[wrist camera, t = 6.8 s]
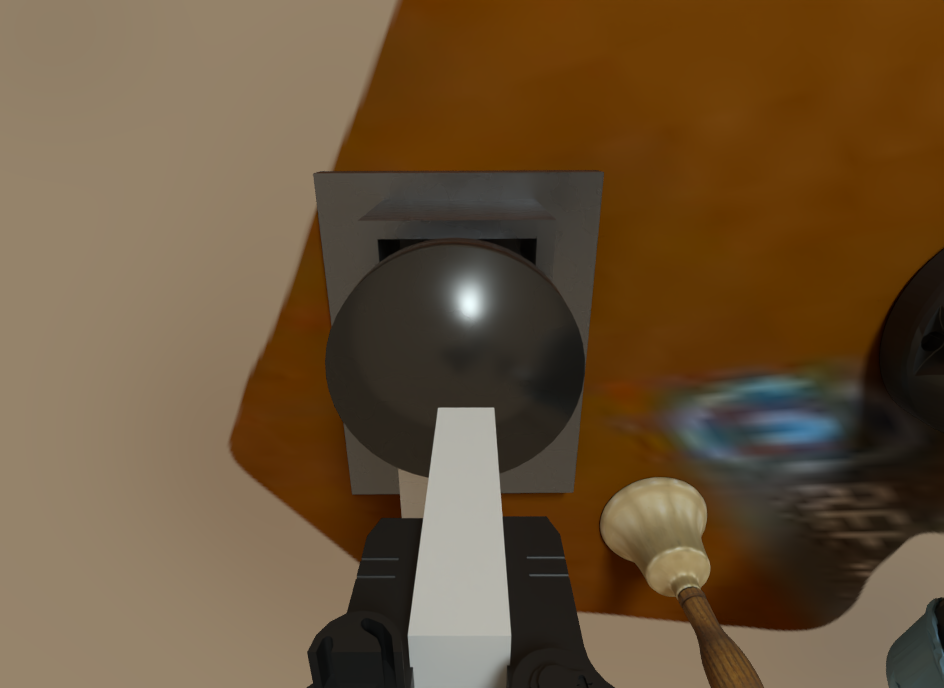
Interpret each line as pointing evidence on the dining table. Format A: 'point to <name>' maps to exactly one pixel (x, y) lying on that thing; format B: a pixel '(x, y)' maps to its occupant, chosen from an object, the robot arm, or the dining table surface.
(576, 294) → the press stand
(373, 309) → the black ball joystick
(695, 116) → the dining table surface
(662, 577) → the hand bell
